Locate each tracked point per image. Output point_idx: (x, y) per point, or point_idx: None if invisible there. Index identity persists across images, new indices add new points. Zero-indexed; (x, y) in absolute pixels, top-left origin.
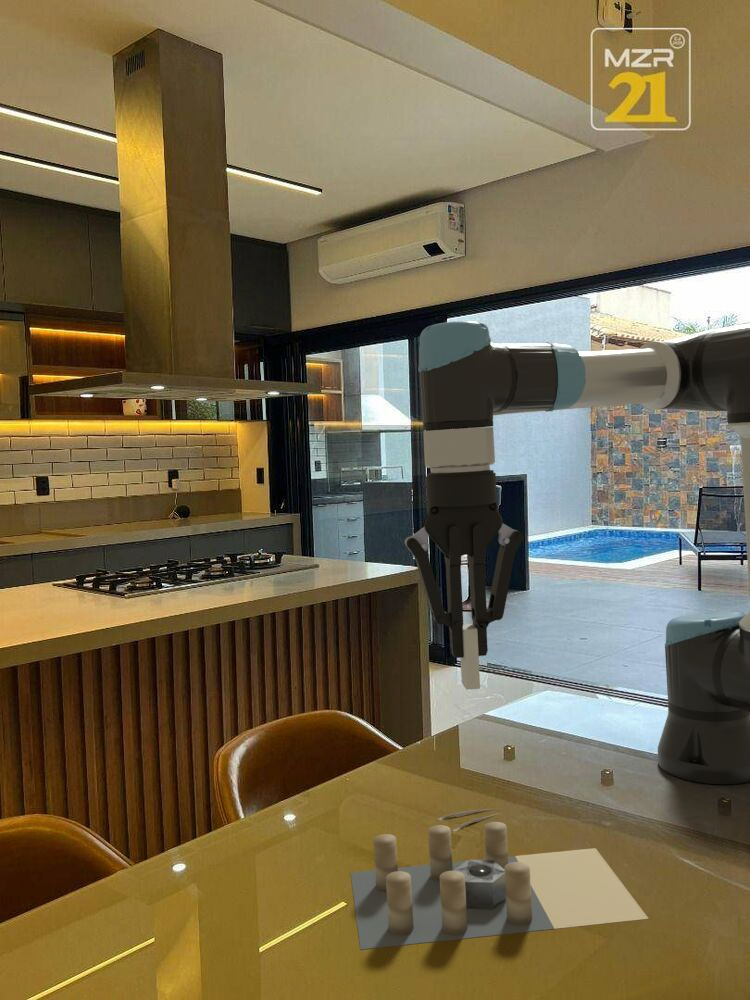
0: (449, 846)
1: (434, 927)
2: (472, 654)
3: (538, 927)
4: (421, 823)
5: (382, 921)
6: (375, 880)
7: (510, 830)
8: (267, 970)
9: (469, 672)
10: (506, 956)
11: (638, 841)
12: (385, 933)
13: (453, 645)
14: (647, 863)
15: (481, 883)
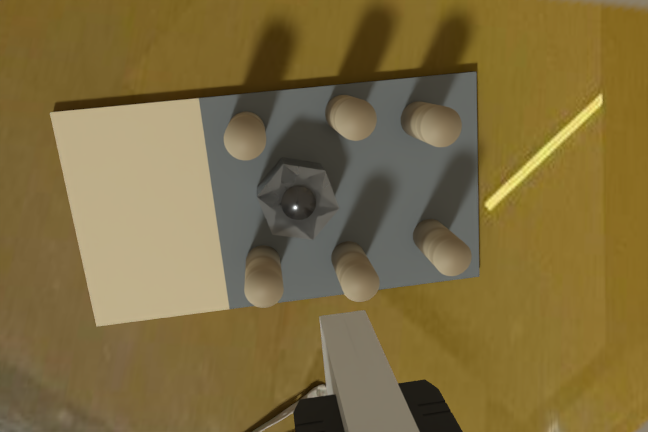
0: (342, 265)
1: None
2: (360, 375)
3: (221, 103)
4: None
5: None
6: None
7: (225, 399)
8: (592, 49)
9: (362, 338)
10: (276, 49)
11: (21, 355)
12: None
13: (445, 408)
14: (19, 286)
15: (300, 166)
